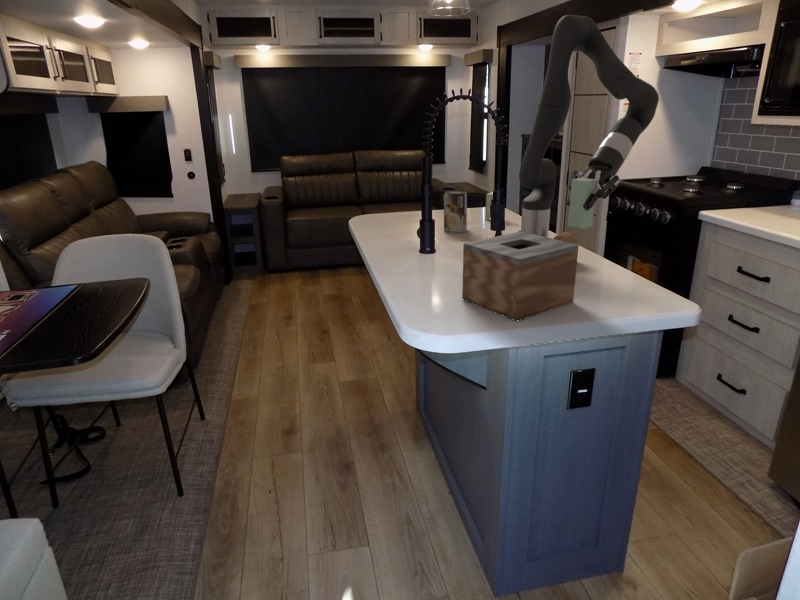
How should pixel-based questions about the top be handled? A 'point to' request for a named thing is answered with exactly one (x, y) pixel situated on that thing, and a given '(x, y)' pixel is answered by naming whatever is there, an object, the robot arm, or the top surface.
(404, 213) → the top surface
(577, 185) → the sage peg
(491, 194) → the skincare box
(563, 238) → the natural sponge
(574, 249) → the box
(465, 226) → the coffee box
